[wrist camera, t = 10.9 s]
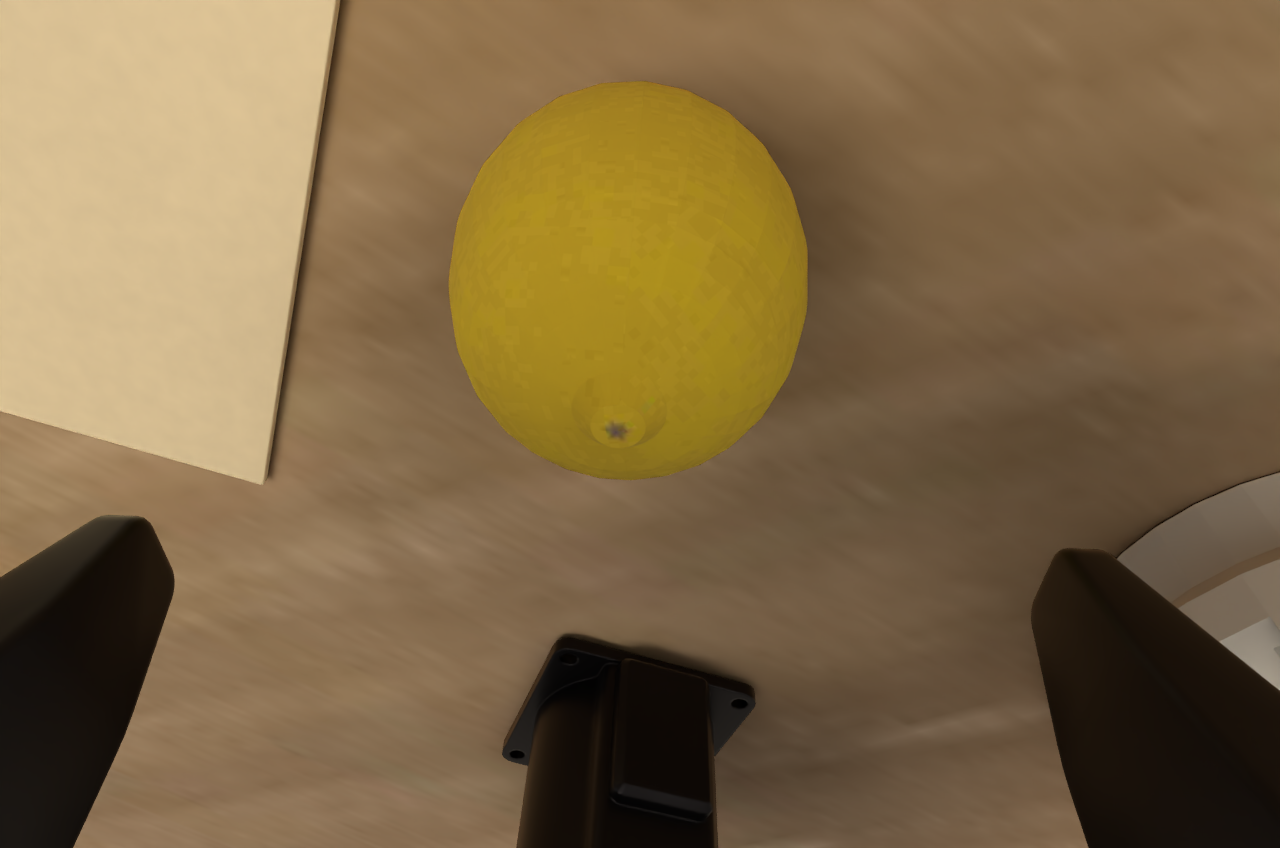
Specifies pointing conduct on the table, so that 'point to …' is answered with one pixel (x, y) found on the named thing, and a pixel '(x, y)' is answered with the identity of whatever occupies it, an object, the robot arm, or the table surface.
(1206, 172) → the table surface
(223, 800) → the table surface
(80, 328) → the wooden plank
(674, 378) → the lemon
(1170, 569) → the flag stand
